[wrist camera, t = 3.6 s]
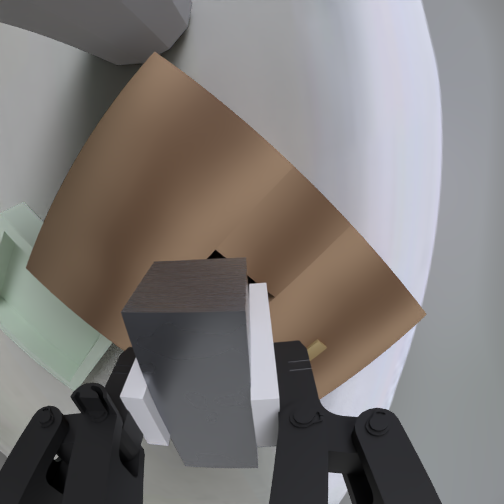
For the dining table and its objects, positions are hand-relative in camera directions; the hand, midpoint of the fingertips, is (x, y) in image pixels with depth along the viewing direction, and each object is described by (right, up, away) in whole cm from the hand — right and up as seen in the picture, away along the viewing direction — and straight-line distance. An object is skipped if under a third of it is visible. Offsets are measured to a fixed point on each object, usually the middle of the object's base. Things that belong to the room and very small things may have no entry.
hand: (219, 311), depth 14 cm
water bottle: (-6, +19, 0) cm, 20 cm away
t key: (0, +2, +6) cm, 6 cm away
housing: (0, +3, +7) cm, 7 cm away
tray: (-16, -1, +8) cm, 18 cm away
